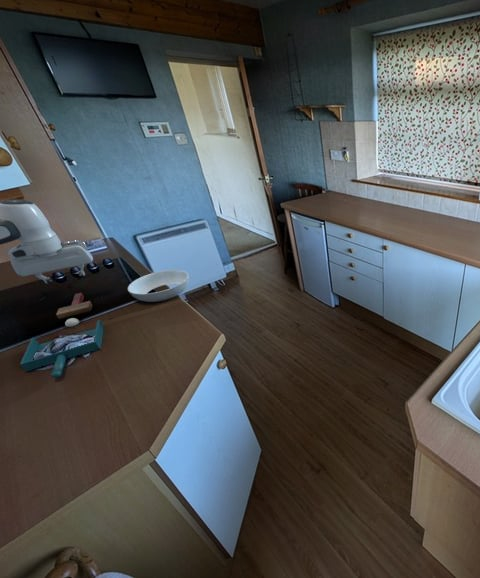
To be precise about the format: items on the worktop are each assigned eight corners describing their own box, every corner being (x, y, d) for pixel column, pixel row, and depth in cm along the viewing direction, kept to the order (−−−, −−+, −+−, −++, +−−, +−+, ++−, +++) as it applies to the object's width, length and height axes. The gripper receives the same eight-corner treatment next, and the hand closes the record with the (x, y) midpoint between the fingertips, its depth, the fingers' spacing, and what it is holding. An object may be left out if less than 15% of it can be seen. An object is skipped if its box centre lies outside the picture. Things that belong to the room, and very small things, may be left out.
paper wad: (67, 331, 103) (61, 323, 102) (69, 326, 106) (63, 318, 104) (81, 327, 105) (75, 319, 103) (82, 322, 108) (77, 315, 106)
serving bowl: (190, 302, 120) (184, 287, 116) (128, 313, 113) (120, 298, 109) (196, 279, 136) (191, 265, 133) (142, 287, 129) (135, 274, 126)
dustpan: (38, 345, 97) (31, 337, 95) (104, 327, 106) (99, 319, 104) (17, 395, 80) (9, 386, 78) (97, 368, 89) (91, 360, 87)
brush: (93, 314, 112) (88, 306, 111) (61, 322, 108) (55, 314, 106) (97, 297, 123) (92, 290, 121) (68, 304, 118) (63, 296, 116)
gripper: (83, 236, 112) (101, 268, 119) (6, 249, 102) (31, 283, 109) (81, 241, 108) (100, 274, 115) (0, 255, 98) (27, 290, 105)
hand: (66, 278), depth 112 cm, fingers open, 8 cm apart
